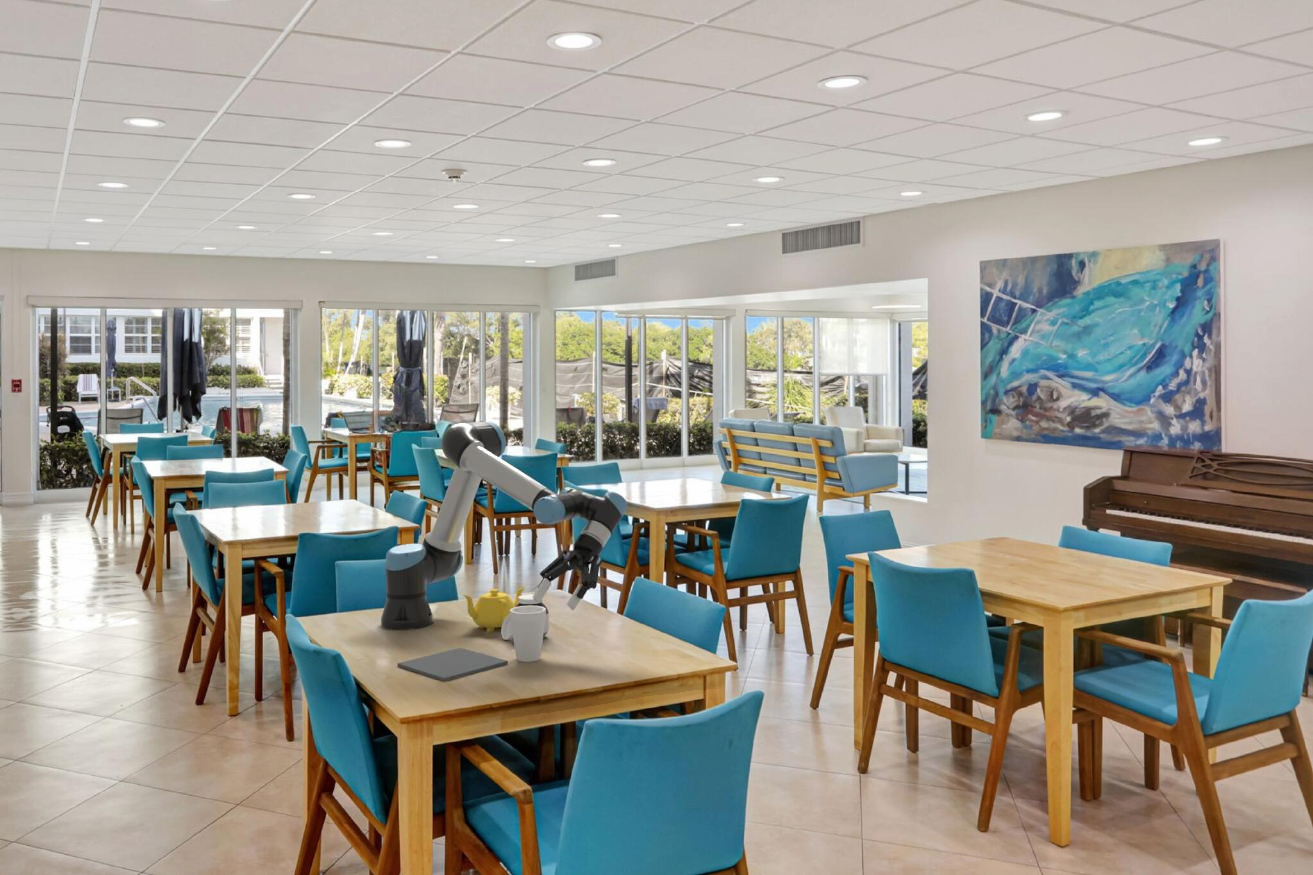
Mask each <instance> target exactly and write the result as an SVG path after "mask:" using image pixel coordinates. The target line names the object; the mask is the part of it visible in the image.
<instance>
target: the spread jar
mask: <svg viewBox="0 0 1313 875" xmlns="http://www.w3.org/2000/svg"><path fill="white" fill-rule="evenodd" d="M534 594H535V593H534ZM534 594H533V593H532V594H523V595H522V594H521V596H519V597H518V602H519V604H518V605H517V606H516V607H520V606H541V607H544V608H546V619H545V624H544V633H543V638H544V637H545V636H546V635H547V634H548V632H549V630H550V613H549V610H548V608H547V606H546V605H545V603H544V602H543V599H542V600H541V602H540V603H537V602H536V601H535V599H534V598H533V595H534ZM500 628H501V630H500V633H501V634H500V636H501V637H502V639H503V640H504V641H505V640H506V641H511V640H514V638H513V632H512V625H511V620H510V616H507V617H506V618H505V620H504V621H503V624H502V627H500Z"/></svg>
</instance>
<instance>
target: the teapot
mask: <svg viewBox="0 0 1313 875" xmlns="http://www.w3.org/2000/svg"><path fill="white" fill-rule="evenodd" d="M525 588H526V586H523V587H520V588H518V589H517V591H516V593H515V599H514V601H513V600H512V598H511V597H510V596H509V595H508V593H506V592H499V591H500V590H499V589H498V588H492V589H490V590H489V592H488V593H487V592H486V593H483V594H482V595H480V597H479V598H478V600H477V601H476V603H475V605H474V602H473V599H472V598H473V597H471V596H470V595H466V594H462V596H463V597H465V599H466V601H467V613H468V615H469V617H471V618H472V620H473V622H474V623H475V624H476V625H477V626H478V629H486V631H485V632H486V633H493V632H494V631H495V628H502V624H503V621H504V620H505V618H506V617H507V616H510V609H512V608H515V607H516V606H517V605H518V604H519V602H518V597H519V596H522V592H523V591H524V590H525Z"/></svg>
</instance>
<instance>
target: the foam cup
mask: <svg viewBox="0 0 1313 875" xmlns="http://www.w3.org/2000/svg"><path fill="white" fill-rule="evenodd" d="M545 619H546V608H544V607H541V606H520V607H515V608H512V609H510V620H511V625H512V632H513V644H514V650H515V651H514V652H515V658H516V660H517V661H519V662H529V663H530V662H535V661H539V660H541V657H542V649H543V641H544V637H543V633H544V624H545Z"/></svg>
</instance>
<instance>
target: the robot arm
mask: <svg viewBox="0 0 1313 875" xmlns="http://www.w3.org/2000/svg"><path fill="white" fill-rule="evenodd" d="M504 434H505V433H504V430H503V429H502V428H501V427H500V426H499V424H497V423H495V422H492V421H484V420H480V421H476V422H473V421H472V422H471V421H470V422H459V423H456V424H453V425H451V426H450V427H448V428H447V429H446V430H445V431H444V433H443V435H442V438H441V448H442V449H441V450H442V452H443V454H444V456H445V458H446V459H447V460H448V461H449V463H452V464H453V465H454V470H453V473H452V475H451V479H450V481H449V484H448V487H447V490H446V492H445V495H444V498H443V501H442V504H441V506H440V508H439V512H438V514H437V516H436V520H435V523H434V525H433V528H432V531H430V532H429V531H428V533H426V534H425V536H424V539H423V542H422V544H421V543H406V544H399V545H396V546H393V547H392V548H390V549H389V550H387V552H386V554H385V561H384V562H385V563H384V566H385V589H386V590H385V591H386V601H385V604H384V606H383V611H382V615H381V619H380V622H381V623H380V626H381V625H382V626H383V628H384V627H385V629H388V628H392V629H391V630H411V629H410V628H414V629H421V628H424V626H425V627H427V626H431V625H432V624H433V623H432V622H433V621H434V620H433V612H432V610H431V608H430V604H429V602H428V599H427V585H429V584H433V583H437V582H440V581H441V582H442V581H445V580H448V579H450V578H452V577H454V576H456V574H458V573H459V572H460V570H461V568H462V565H463V562H464V561H463V560H464V556H463V555H462V554H463V551H462V543H461V542H460V537H461V534H462V532H463V529H464V527H465V524H466V521H467V519H468V516H469V513H470V510H471V508H472V505H473V502H474V500H475V497H476V495H477V492H478V489H479V486H480V483H481V481H482V479H483V480H484V481H486V482H488V483H489V484H490V485H492V486H493V487H495V488H497V489H498V490H500V491H501V492H502V493H504V494H506V495H507V496H509V497H510V498H513V499H514V500H516V502H519V504H522V505H523V506H525V507H526V508H528V509H529V510H531V511H533V515H534V517H535V518H536V520H537V521H538V522H539V523H540V524H543V525H555V524H558V523H561V522H566V521H569V520H573V519H578V518H579V519H581V520H584V521H587V523H586V524H585V526H584V527H583V528H582V530H581V532H580V534H579V535H578V536H577V539H576V540H575V541H574V543H573V549H572V551H568V550H567V549H563V550H562V551H561V553H560V554H559V555H558V557H556V558H555V559H554V560H552V562H551V563H549V564H548V565H547V566H546V567H545V568H543V570H542V571H541V572H540V573H539V576H541V577H542V579H541V581H540V582H539V584H538V586H537V589H536V591H535V592H534V595H533V598H534V599H535V601H536V602H537V603H540V602H541V600H542V601H543V599H544V597H545V595H546V594H547V592H548V591H549V590H550V587H551V586H552V581H554V580H556V579H557V578H559V577H561V576H562V575H563V574H565V573H567V572H568V571H572V570H574V571H575V570H578V571H580V578H581V582H580V583H579V584H578V585H577V587H576V588H575V590H574V591H573V593H572V594H571V596H570V598H569V599H568V601H567V603H566V605H567V607H569V608H570V609H571V611H575V609H576V608H577V606H578V605H579V602H580V601H581V600H582V599H583V598H584V597H585V595H586V594H587V591H589V590H590V589H593V590H594V589H596V588H597V584H598V577H599V572H600V567H601V566H602V562H603V560H602V559H601V557H600V554H601V553H602V551H603V548H604V547H605V545H606V544H607V542H608V541H609V539H610V538H611V536H612V534H613V532H614V530H615V529H616V527H617V526H618V524H619V523H620V522H621V520H622V518H623V517H624V515H625V513H626V511H627V509H628V503H627V500H626V498H624V496H623V495H621V494H620V493H617V492H615V491H607V492H605V494H604V495H603V496H597V495H595V494H592V493H589V492H586V491H583V490H580V489H579V488H576V487H570V486H566V487H564V488H563V489H562V490H560V492H559V493H556V492H554V491H552V490H551V489H549V488H548V487H546V486H545V485H543V484H541V483H540V482H538V481H537V480H535V479H534V478H532V477H531V476H529V475H528V474H526V473H524V472H522V470H520V469H518V468H516V467H515V466H514V465H511V464H510V463H508V461H506V460H504V459H502V458H501V456H503V454H504V453H505V451H506V447H507V440H506V435H504ZM382 626H381V627H382Z"/></svg>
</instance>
